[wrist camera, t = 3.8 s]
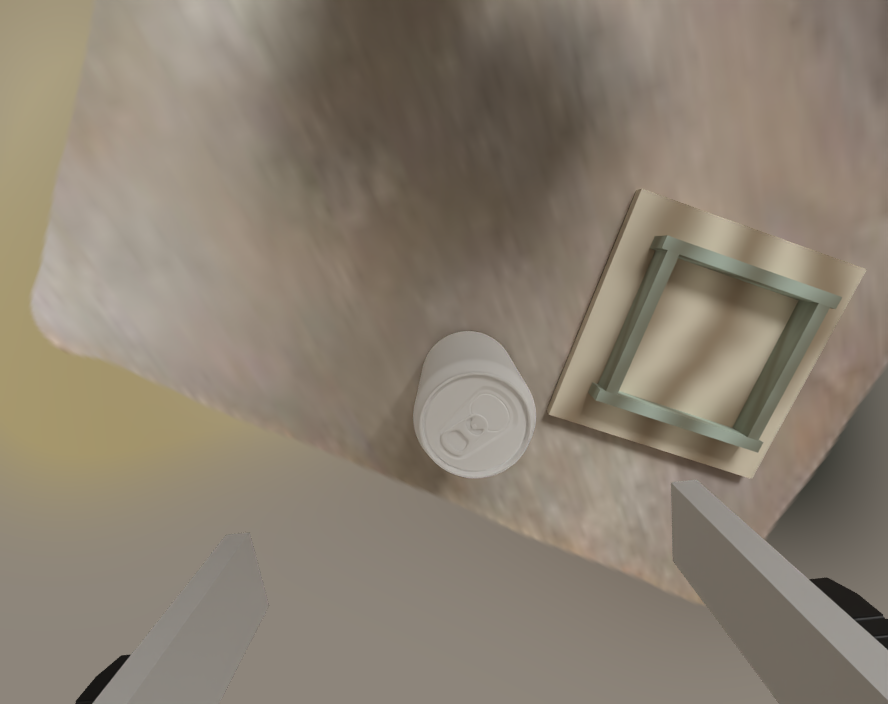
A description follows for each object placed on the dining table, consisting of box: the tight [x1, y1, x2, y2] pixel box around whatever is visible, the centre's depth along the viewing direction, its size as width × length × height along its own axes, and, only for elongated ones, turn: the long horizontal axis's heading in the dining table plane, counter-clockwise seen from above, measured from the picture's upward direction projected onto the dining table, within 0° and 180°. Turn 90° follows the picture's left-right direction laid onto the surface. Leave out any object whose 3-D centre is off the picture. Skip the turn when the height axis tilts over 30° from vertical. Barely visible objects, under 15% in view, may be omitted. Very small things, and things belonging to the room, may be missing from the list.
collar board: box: [546, 189, 867, 479], centre depth 36 cm, size 20×20×3 cm
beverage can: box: [413, 331, 536, 478], centre depth 32 cm, size 8×8×12 cm
